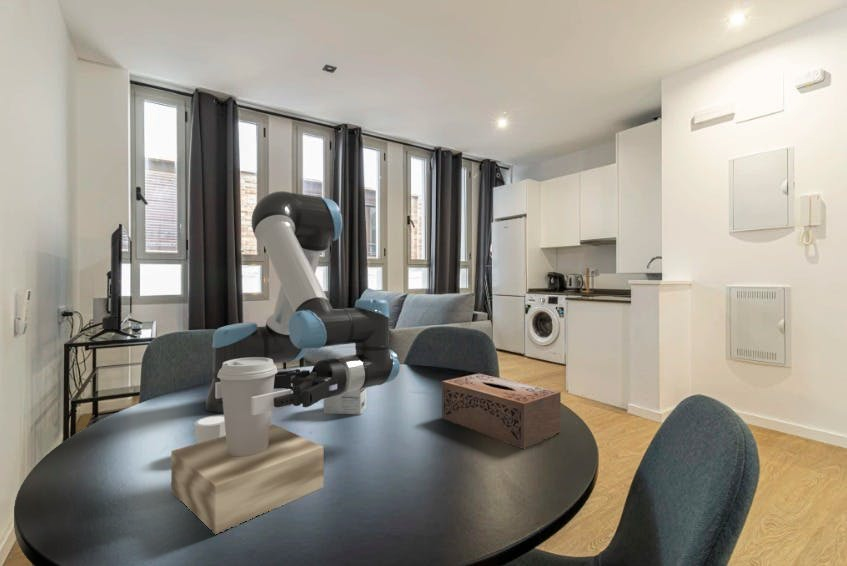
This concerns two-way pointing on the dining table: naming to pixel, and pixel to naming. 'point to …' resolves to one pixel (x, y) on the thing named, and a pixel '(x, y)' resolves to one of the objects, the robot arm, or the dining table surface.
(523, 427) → the tissue box cover
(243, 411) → the coffee cup
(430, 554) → the dining table surface
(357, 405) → the light bulb box
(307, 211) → the robot arm
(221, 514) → the riser block
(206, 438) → the shot glass
